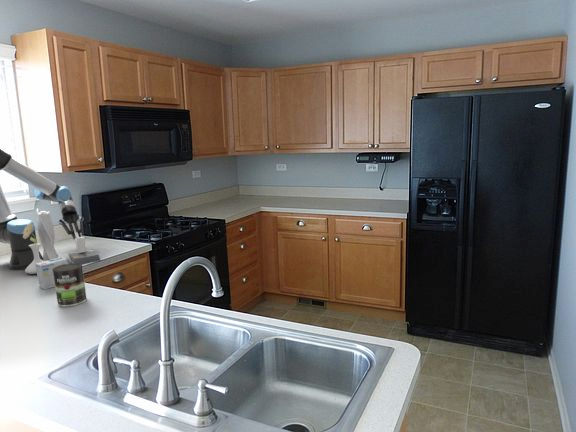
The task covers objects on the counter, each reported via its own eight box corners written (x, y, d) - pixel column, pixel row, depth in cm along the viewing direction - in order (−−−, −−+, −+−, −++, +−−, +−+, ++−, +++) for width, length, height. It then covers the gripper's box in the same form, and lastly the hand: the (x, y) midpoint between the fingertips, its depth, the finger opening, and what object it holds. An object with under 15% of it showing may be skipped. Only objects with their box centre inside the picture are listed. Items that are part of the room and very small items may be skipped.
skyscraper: (38, 261, 227) (30, 209, 222) (50, 257, 234) (42, 207, 229) (50, 262, 225) (42, 209, 220) (61, 258, 232) (54, 207, 227)
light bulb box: (63, 279, 195) (60, 256, 193) (70, 282, 191) (66, 259, 189) (38, 286, 187) (34, 263, 185) (44, 289, 183) (40, 265, 181)
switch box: (74, 264, 218) (73, 259, 217) (69, 259, 229) (68, 253, 228) (99, 260, 225) (98, 254, 224) (93, 254, 236) (92, 249, 235)
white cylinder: (78, 253, 227) (76, 239, 225) (76, 251, 230) (74, 237, 229) (86, 251, 229) (84, 237, 228) (84, 250, 232) (82, 236, 231)
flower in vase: (26, 271, 211) (18, 221, 206) (52, 267, 216) (45, 218, 211) (24, 278, 199) (15, 225, 195) (52, 273, 204) (44, 222, 200)
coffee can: (84, 304, 163) (79, 269, 161) (54, 308, 161) (49, 272, 158) (89, 295, 173) (84, 261, 170) (61, 299, 170) (55, 265, 168)
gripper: (80, 212, 251) (91, 244, 241) (55, 215, 243) (65, 249, 233) (81, 204, 246) (92, 237, 236) (55, 207, 238) (66, 241, 228)
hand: (78, 243), depth 235 cm, fingers closed
